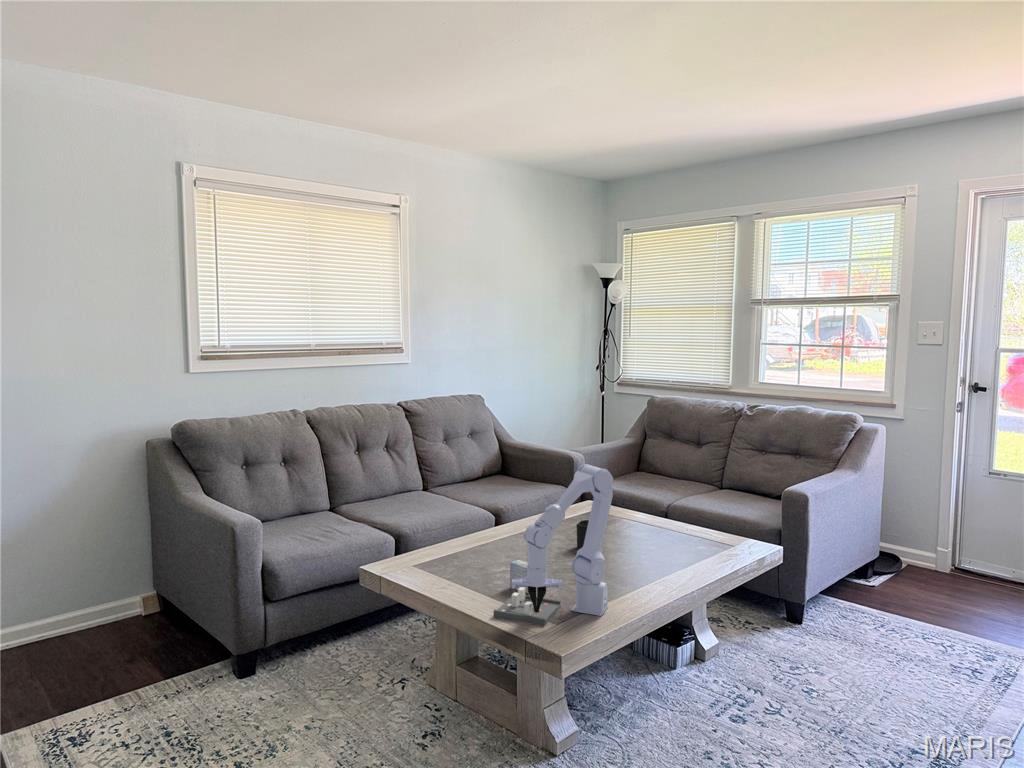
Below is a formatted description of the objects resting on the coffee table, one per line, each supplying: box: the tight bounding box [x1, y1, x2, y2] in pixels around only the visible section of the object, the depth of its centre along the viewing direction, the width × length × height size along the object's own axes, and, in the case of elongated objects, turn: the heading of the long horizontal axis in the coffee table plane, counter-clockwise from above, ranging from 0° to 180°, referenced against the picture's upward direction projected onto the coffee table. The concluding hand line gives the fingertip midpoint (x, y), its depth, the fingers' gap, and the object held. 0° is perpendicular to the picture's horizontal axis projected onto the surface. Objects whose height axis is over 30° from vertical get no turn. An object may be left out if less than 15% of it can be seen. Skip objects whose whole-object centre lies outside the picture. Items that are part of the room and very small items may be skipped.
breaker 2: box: [517, 587, 526, 602], centre depth 215 cm, size 2×2×4 cm
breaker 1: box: [511, 592, 520, 608], centre depth 210 cm, size 2×2×4 cm
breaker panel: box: [493, 592, 562, 627], centre depth 209 cm, size 16×15×2 cm
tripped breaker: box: [524, 601, 532, 616], centre depth 203 cm, size 2×2×4 cm
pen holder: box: [576, 519, 589, 550], centre depth 270 cm, size 9×9×10 cm
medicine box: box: [509, 559, 529, 595], centre depth 227 cm, size 8×4×9 cm, turn 48°
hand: (536, 611), depth 202 cm, fingers closed
